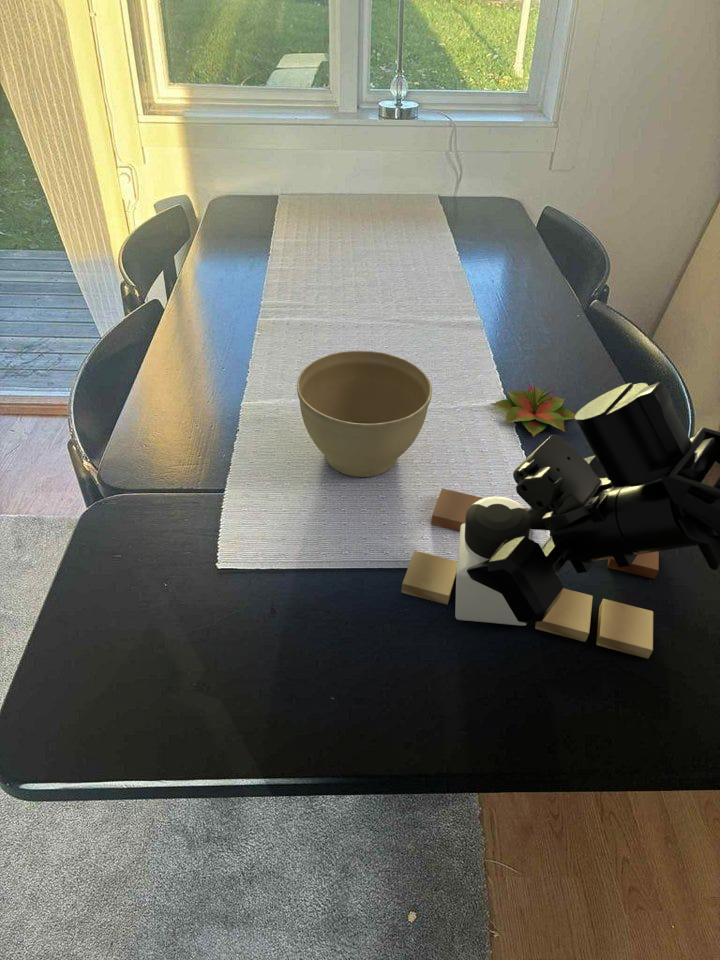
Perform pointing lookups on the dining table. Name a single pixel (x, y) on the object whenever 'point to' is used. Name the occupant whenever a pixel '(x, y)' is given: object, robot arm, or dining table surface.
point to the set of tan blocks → (566, 617)
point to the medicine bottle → (487, 557)
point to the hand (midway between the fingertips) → (493, 546)
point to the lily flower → (535, 409)
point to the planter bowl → (363, 409)
